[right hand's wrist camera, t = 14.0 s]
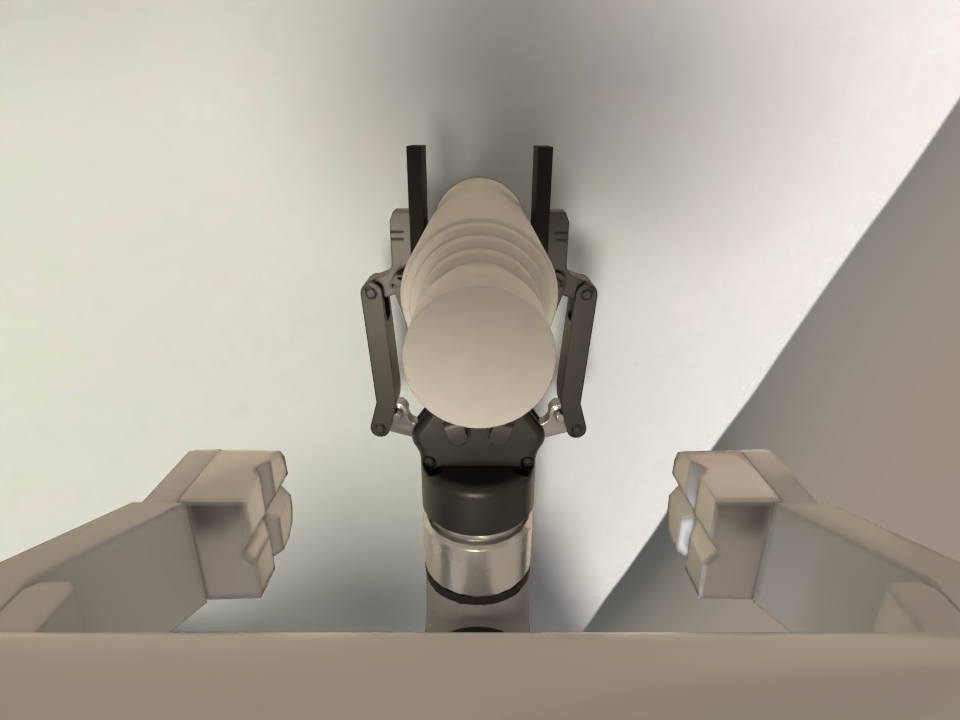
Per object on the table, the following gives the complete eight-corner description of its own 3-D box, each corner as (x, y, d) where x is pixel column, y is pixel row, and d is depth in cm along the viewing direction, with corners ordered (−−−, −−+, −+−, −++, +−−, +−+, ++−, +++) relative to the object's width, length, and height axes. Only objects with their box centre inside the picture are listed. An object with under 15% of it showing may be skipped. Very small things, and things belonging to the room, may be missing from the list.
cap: (457, 238, 17) (454, 254, 15) (574, 314, 18) (587, 339, 16) (386, 351, 18) (374, 381, 16) (497, 417, 19) (500, 453, 17)
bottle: (465, 159, 37) (444, 204, 15) (541, 210, 39) (629, 325, 16) (418, 237, 39) (335, 383, 17) (491, 284, 41) (507, 480, 18)
